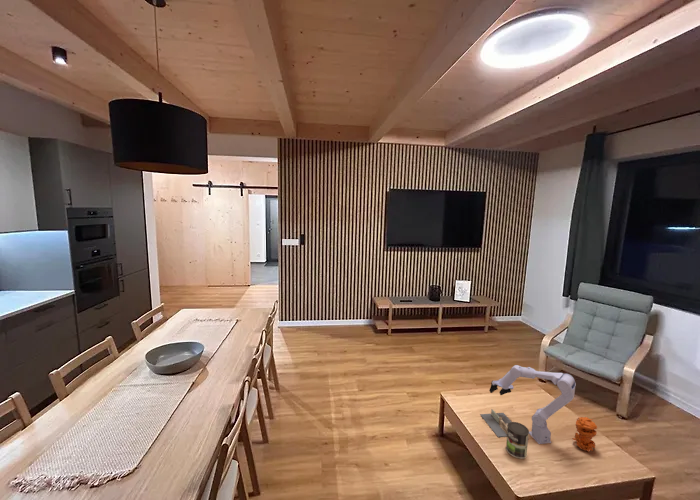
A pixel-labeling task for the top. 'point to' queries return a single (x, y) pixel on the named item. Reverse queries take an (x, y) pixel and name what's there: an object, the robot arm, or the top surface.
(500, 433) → the card
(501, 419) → the fixed fence
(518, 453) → the coffee can
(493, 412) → the fence gate
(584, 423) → the toy dinosaur
